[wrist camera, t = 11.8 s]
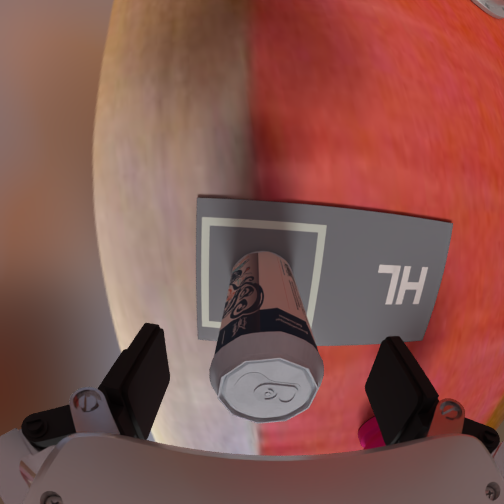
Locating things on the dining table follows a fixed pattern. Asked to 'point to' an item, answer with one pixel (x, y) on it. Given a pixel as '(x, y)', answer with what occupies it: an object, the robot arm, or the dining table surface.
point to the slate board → (327, 265)
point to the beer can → (265, 344)
